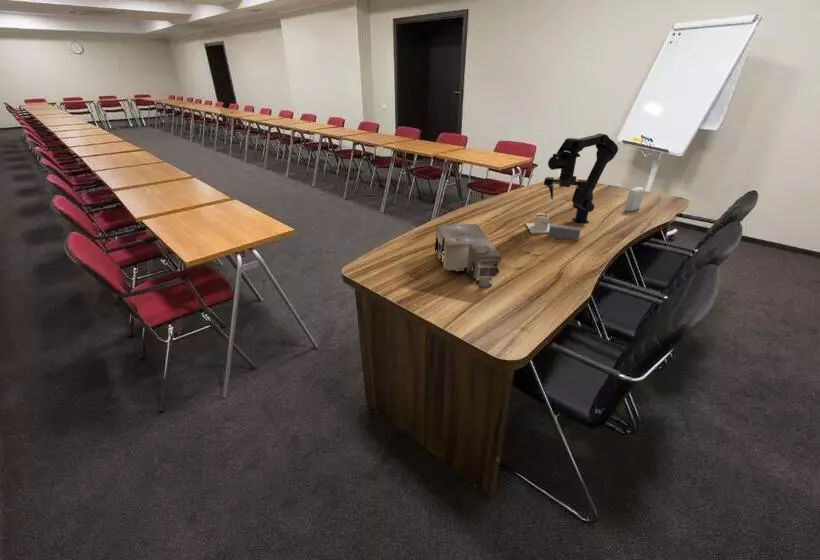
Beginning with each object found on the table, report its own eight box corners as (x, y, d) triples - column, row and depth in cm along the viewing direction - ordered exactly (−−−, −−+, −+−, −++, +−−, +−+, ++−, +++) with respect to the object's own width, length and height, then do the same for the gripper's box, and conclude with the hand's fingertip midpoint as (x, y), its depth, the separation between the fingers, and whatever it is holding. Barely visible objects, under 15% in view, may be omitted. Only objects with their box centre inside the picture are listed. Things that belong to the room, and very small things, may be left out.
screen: (548, 234, 179) (549, 223, 177) (579, 238, 174) (581, 227, 172) (547, 236, 177) (549, 225, 174) (578, 240, 172) (581, 229, 170)
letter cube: (535, 224, 189) (536, 212, 186) (547, 226, 187) (549, 214, 184) (533, 228, 184) (535, 216, 181) (546, 230, 182) (548, 217, 179)
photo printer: (633, 206, 216) (639, 185, 210) (640, 208, 213) (647, 186, 207) (623, 210, 211) (628, 187, 205) (630, 212, 208) (636, 189, 202)
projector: (447, 289, 133) (450, 254, 127) (433, 253, 162) (435, 223, 156) (498, 288, 135) (503, 254, 129) (475, 252, 164) (479, 222, 158)
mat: (525, 224, 192) (525, 223, 191) (549, 224, 191) (549, 223, 191) (530, 233, 181) (531, 231, 181) (556, 233, 180) (556, 231, 180)
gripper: (545, 169, 173) (540, 203, 180) (589, 172, 166) (582, 207, 174) (547, 164, 182) (542, 196, 189) (589, 167, 175) (583, 200, 183)
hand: (562, 200), depth 183 cm, fingers open, 9 cm apart
